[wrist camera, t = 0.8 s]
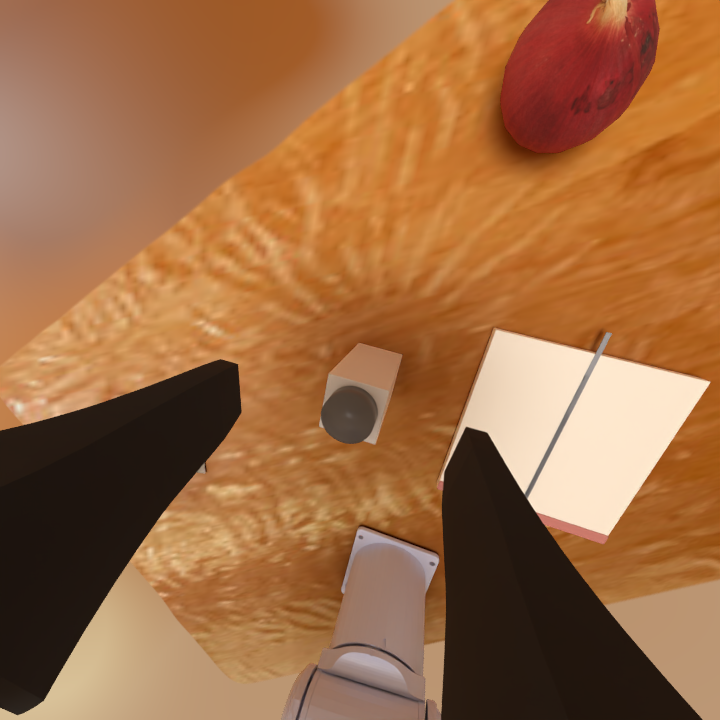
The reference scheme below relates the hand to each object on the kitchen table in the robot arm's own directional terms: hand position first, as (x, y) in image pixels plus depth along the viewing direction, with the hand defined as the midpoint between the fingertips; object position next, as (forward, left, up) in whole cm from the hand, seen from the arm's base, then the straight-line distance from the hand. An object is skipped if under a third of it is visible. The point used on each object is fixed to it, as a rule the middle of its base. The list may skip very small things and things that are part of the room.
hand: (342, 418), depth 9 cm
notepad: (-5, -13, -15) cm, 20 cm away
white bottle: (-4, +1, -15) cm, 15 cm away
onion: (+14, -5, -15) cm, 21 cm away
